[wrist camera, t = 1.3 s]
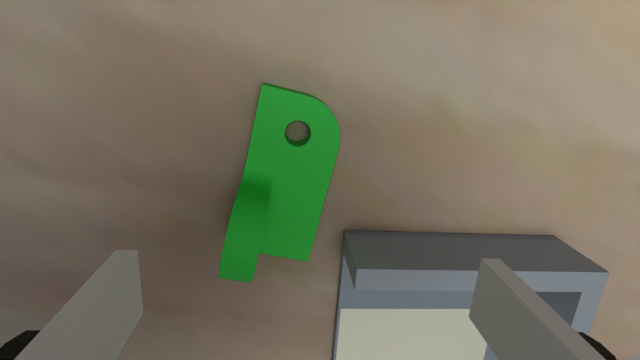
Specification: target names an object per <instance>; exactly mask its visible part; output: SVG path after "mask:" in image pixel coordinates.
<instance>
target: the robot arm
mask: <svg viewBox="0 0 640 360" xmlns="http://www.w3.org/2000/svg"><path fill="white" fill-rule="evenodd" d="M142 315H143V305H142V294H141V282H140V271H139V260H138V250H115V251H114V252H113V253H112V254H111V255H110V256H109V257H108V259H107V260H106V261H105V262H104V263H103V264H102V265H101V266H100V267H99V268H98V269H97V270H96V272H95V273H94V274H93V275H92V276H91V277H90V278H89V279H88V280H87V281H86V282H85V283H84V284H83V286H82V287H81V288H80V289H79V290H78V291H77V292H76V293H75V294H74V295H73V296H72V297H71V299H70V300H69V301H68V302H67V303H66V304H65V305H64V306H63V307H62V308H61V309H60V310H59V312H58V313H57V314H56V315H55V316H54V317H53V318H52V319H51V320H50V321H49V322H48V323H47V324H46V326H45V327H44V328H43V329H42V330H41V331H29V330H26V331H25V332H23V333H21V334H20V335H18V336H17V337H15V338H13V339H12V340H10V341H9V342H7V343H5V344H4V345H3V346H2V347H1V348H0V360H117V358H118V357H119V355H120V353H121V351H122V350H123V348H124V346H125V345H126V343H127V341H128V339H129V338H130V336H131V334H132V333H133V331H134V329H135V327H136V326H137V324H138V322H139V320H140V319H141V317H142ZM469 318H470V320H471V321H472V323H473V324H474V325H475V327H476V328H477V330H478V331H479V333H480V334H481V336H482V337H483V338H484V340H485V341H486V343H487V344H488V346H489V347H490V349H491V350H492V351H493V353H494V354H495V356H496V357H497V359H498V360H616V358H615V356H614V355H613V354H612V353H611V352H609V351H608V350H607V349H606V348H605V347H604V346H603V345H602V344H601V343H599V342H597V341H596V340H594V339H593V338H591V337H589V336H588V335H586V334H585V333H583V332H576V331H575V330H574V329H573V328H572V327H571V326H570V325H569V324H568V323H567V322H566V321H565V320H564V319H563V318H562V317H561V316H559V315H558V314H557V313H556V312H555V311H554V310H553V309H552V308H551V307H550V306H549V305H548V304H547V303H546V302H545V301H544V300H543V299H542V298H541V297H540V296H538V295H537V294H536V293H535V292H534V291H533V290H532V289H531V288H530V287H529V286H528V285H527V284H526V283H525V282H524V281H523V280H522V279H521V278H520V277H519V276H517V275H516V274H515V273H514V272H513V271H512V270H511V269H510V268H509V267H508V266H507V265H506V264H505V263H504V262H503V261H502V260H501V259H491V258H481V263H480V267H479V272H478V276H477V281H476V285H475V290H474V294H473V299H472V303H471V308H470V312H469Z"/></svg>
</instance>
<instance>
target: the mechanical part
mask: <svg viewBox="0 0 640 360" xmlns="http://www.w3.org/2000/svg"><path fill="white" fill-rule="evenodd" d="M293 121H303V122H305V123H306V124H307V125H308V126H309V128H310V130H309V134H308V136H307V137H306V138H305V139H303V140H301V141H293V140H291V139H289V138H288V137H287V135H286V133H285V129H286V127H287V125H288V124H289V123H291V122H293ZM339 145H340V131H339V126H338V123H337V121H336V118H335V117H334V115H333V114H332V112H331V111H330V110H329V108H328V107H327V106H326V105H325V104H324V103H323V102H322V101H320V100H319V99H318V98H316V97H314V96H312V95H309V94H306V93H302V92H298V91H294V90H290V89H286V88H282V87H279V86H275V85H271V84H267V83H263V84H262V87H261V91H260V96H259V101H258V106H257V111H256V116H255V121H254V126H253V131H252V136H251V141H250V145H249V150H248V155H247V160H246V165H245V170H244V174H243V178H242V181H241V184H240V187H239V190H238V192H237V195H236V198H235V202H234V205H233V209H232V213H231V217H230V221H229V225H228V229H227V233H226V238H225V242H224V247H223V251H222V256H221V262H220V267H219V275H218V277H219V278H224V279H230V280H236V281H242V282H248V283H251V282H252V279H253V275H254V272H255V267H256V263H257V259H258V254H259V253H263V254H269V255H274V256H280V257H285V258H291V259H296V260H302V261H307V262H308V259H309V255H310V252H311V248H312V245H313V241H314V237H315V234H316V230H317V226H318V223H319V219H320V215H321V212H322V208H323V204H324V201H325V197H326V194H327V190H328V186H329V183H330V179H331V175H332V172H333V168H334V164H335V161H336V157H337V153H338V150H339Z"/></svg>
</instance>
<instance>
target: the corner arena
mask: <svg viewBox="0 0 640 360" xmlns="http://www.w3.org/2000/svg"><path fill="white" fill-rule="evenodd" d="M481 258H491V259H501V260H502V261H503V262H504V263H505V264H506V265H507V266H508V267H509V268H510V269H511V270H512V271H513V272H514V273H515V274H516V275H517V276H519V277H520V278H521V279H522V280H523V281H524V282H525V283H526V284H527V285H528V286H529V287H530V288H531V289H532V290H533V291H534V292H535V293H536V294H537V295H538V296H540V297H541V298H542V299H543V300H544V301H545V302H546V303H547V304H548V305H549V306H550V307H551V308H552V309H553V310H554V311H555V312H556V313H557V314H558V315H559V316H561V317H562V318H563V319H564V320H565V321H566V322H567V323H568V324H569V325H570V326H571V327H572V328H573V329H574V330H575V331H576V332H583V333H585V334H586V335H588V334H589V331H590V328H591V325H592V323H593V320H594V317H595V314H596V311H597V308H598V305H599V302H600V299H601V296H602V293H603V290H604V287H605V285H606V282H607V279H608V276H609V273H610V272H608V271H607V270H605V269H604V268H602V267H601V266H599V265H598V264H596V263H595V262H593V261H591V260H590V259H588V258H587V257H585V256H584V255H582V254H581V253H579V252H578V251H576V250H575V249H573V248H572V247H570V246H569V245H567V244H566V243H564V242H563V241H561V240H560V239H558V238H557V237H555V236H553V235H512V234H471V233H429V232H387V231H345V230H344V235H343V246H342V256H341V267H340V277H339V288H338V298H337V309H336V320H335V330H334V341H333V351H332V360H498V359H497V357H496V356H495V354H494V353H493V351H492V350H491V349H490V347H489V346H488V344H487V343H486V341H485V340H484V338H483V337H482V336H481V334H480V333H479V331H478V330H477V328H476V327H475V325H474V324H473V323H472V321H471V320H470V318H469V312H470V308H471V303H472V299H473V294H474V290H475V285H476V281H477V276H478V272H479V267H480V263H481Z"/></svg>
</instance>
